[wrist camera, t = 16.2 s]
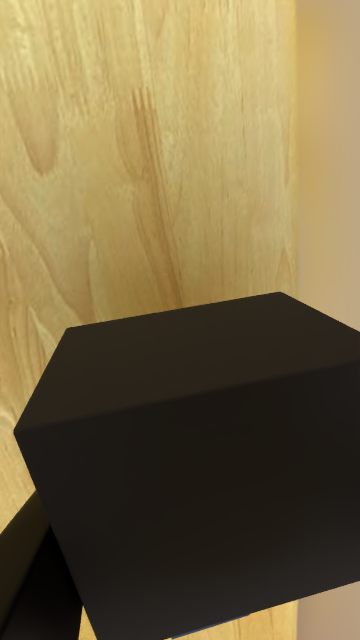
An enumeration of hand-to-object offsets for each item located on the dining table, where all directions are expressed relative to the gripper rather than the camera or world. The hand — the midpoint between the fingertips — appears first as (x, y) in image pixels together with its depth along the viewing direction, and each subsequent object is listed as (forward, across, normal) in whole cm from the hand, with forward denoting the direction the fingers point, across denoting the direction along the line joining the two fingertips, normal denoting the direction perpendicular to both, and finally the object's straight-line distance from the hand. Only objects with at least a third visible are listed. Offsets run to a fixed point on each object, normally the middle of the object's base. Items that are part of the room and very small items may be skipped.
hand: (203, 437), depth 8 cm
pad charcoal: (+2, 0, 0) cm, 2 cm away
